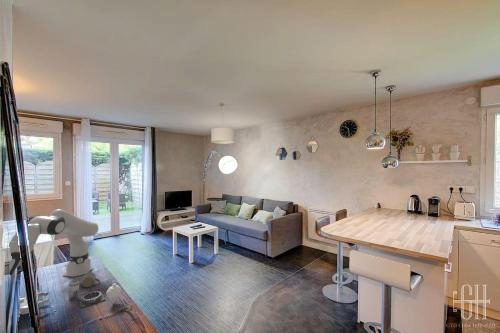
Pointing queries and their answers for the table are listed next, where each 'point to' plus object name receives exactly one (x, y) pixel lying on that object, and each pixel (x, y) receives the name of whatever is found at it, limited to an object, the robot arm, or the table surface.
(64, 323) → the table surface
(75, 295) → the lidded canister
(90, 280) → the ceramic mug
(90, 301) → the duct flange
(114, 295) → the spinning top
